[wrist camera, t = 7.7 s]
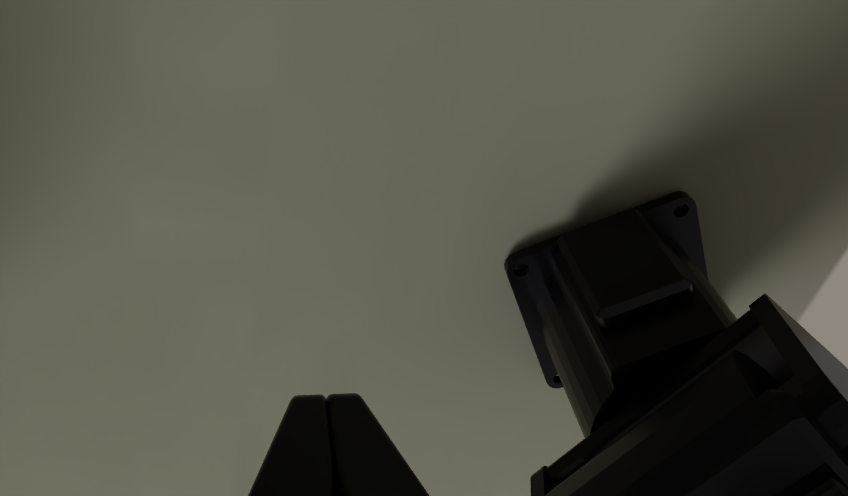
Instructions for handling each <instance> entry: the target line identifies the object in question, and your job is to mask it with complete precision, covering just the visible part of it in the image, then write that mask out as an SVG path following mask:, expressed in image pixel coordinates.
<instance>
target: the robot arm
mask: <svg viewBox="0 0 848 496" xmlns="http://www.w3.org/2000/svg"><path fill="white" fill-rule="evenodd" d="M680 204H683V206H682V207H681V209H679V210H677V211H674V210H675V208H676V207H677V206H679V205H680ZM521 264H525V266H524V267H523V268H522V269H519V270H516V269H515V268H516V267H517V266H518V265H521ZM504 267H505V271H506V274H507V276H508V279H509V282H510V285H511V287H512V290H513V293H514V295H515V298H516V301H517V304H518V306H519V309H520V312H521V314H522V317H523V320H524V322H525V325H526V328H527V331H528V333H529V336H530V339H531V341H532V344H533V347H534V350H535V352H536V355H537V358H538V360H539V363H540V366H541V369H542V371H543V374H544V377H545V379H546V382H547V384H548V385H549V386H550V387H552V388H561V387H564V389H565V392H566V394H567V396H568V399H569V401H570V404H571V406H572V408H573V411H574V413H575V416H576V418H577V420H578V423H579V425H580V428H581V430H582V432H583V435H584V437H585V439H583V440H582V441H581V442H580V443H578V444H577V445H576V446H575V447H573V448H572V449H571V450H569V451H568V452H567V453H566V454H564V455H563V456H562V457H560V458H559V459H558V460H557V461H555V462H554V463H553V464H551V465H550V466H549V467H547V466H543V467H542V468H541V469H540V470H538V471H537V472H536V473H534V474H533V475H532V476H531V496H848V369H847V368H846V367H845V366H844V365H843V364H842V363H841V362H840V361H839V360H838V359H836V357H834V356H833V355H832V354H831V353H830V352H829V351H828V350H827V349H826V348H825V347H823V346H822V345H821V344H820V343H819V342H818V341H817V340H816V339H814V337H812V336H811V335H810V334H809V333H808V332H807V331H806V330H805V329H804V328H803V327H801V326H800V325H799V324H798V323H797V322H796V321H795V320H794V319H793V318H792V317H791V316H790V315H788V314H787V313H786V312H785V311H784V310H783V309H782V308H781V307H780V306H779V305H777V304H776V303H775V302H774V301H773V300H772V299H771V298H770V297H769V296H768V295H766V294H763V295H762V296H761V297H760V298H758V299H757V300H756V301H754V302H753V303H752V304H751V305H749V307H750V310H749V311H748V312H747V313H745V314H744V315H743V316H741V317H740V318H739V319H737V318H736V317H735V315H734V314H733V313H732V312H731V310H730V309H729V308H728V306H727V305H726V304H725V302H724V301H723V300H722V298H721V297H720V296H719V294H718V293H717V292H716V291H715V289H714V288H713V287H712V285H711V284H710V283H709V281H708V277H707V271H706V265H705V258H704V252H703V246H702V240H701V233H700V227H699V221H698V214H697V208H696V204H695V202H694V200H693V199H692V198H691V197H690V196H689V195H688V194H687V193H686V192H681V191H679V192H674V193H671V194H668V195H666V196H663V197H661V198H658V199H655V200H653V201H650V202H647V203H645V204H642V205H639V206H637V207H634V208H631V209H628V210H626V211H623V212H620V213H618V214H615V215H612V216H610V217H607V218H604V219H602V220H599V221H596V222H594V223H591V224H588V225H586V226H583V227H580V228H578V229H575V230H572V231H570V232H567V233H564V234H562V235H560V236H557V237H554V238H552V239H549V240H546V241H544V242H541V243H538V244H536V245H533V246H530V247H528V248H525V249H522V250H520V251H517V252H514V253H513V254H511V255H509V257H508V258H507V259H506V261H505V263H504ZM557 374H558V376H556V375H557ZM248 496H429V494H428V493H427V492H426V490H425V489H424V487H423V486H422V484H421V483H420V481H419V480H418V479H417V477H416V476H415V474H414V473H413V471H412V470H411V468H410V467H409V465H408V464H407V463H406V461H405V460H404V458H403V457H402V455H401V454H400V452H399V451H398V450H397V448H396V447H395V445H394V444H393V442H392V441H391V439H390V438H389V436H388V435H387V434H386V432H385V431H384V429H383V428H382V426H381V425H380V423H379V422H378V420H377V419H376V418H375V416H374V415H373V413H372V412H371V410H370V409H369V407H368V406H367V405H366V403H365V402H364V400H363V399H362V398H361V396H360V395H358V394H355V393H349V394H331V395H329V396H328V397H327V398H326V399H325V397H324V396H323V395H297V396H294V397H293V398H292V399H291V401H290V403H289V405H288V408H287V410H286V412H285V414H284V417H283V419H282V421H281V423H280V425H279V428H278V430H277V432H276V434H275V437H274V439H273V441H272V443H271V446H270V448H269V450H268V452H267V455H266V457H265V459H264V461H263V464H262V466H261V468H260V470H259V473H258V475H257V477H256V479H255V482H254V484H253V486H252V488H251V491H250V493H249V495H248Z"/></svg>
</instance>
